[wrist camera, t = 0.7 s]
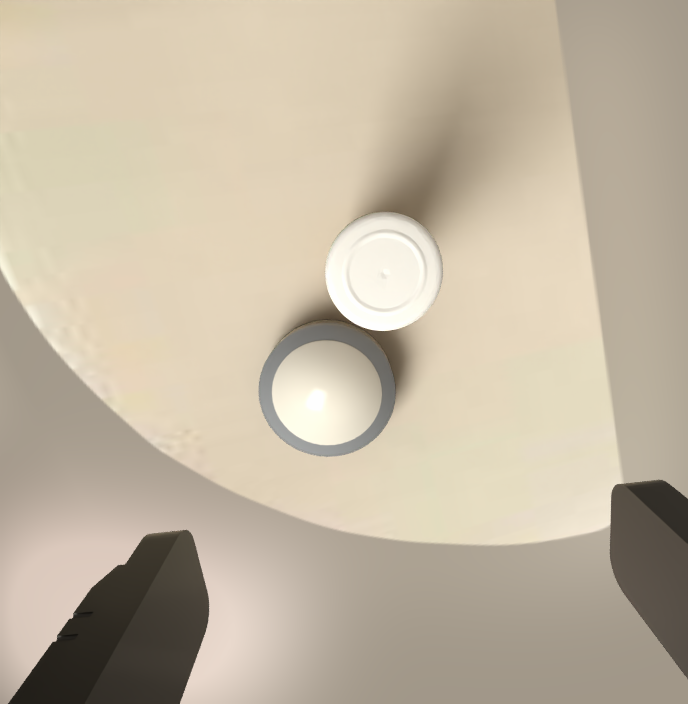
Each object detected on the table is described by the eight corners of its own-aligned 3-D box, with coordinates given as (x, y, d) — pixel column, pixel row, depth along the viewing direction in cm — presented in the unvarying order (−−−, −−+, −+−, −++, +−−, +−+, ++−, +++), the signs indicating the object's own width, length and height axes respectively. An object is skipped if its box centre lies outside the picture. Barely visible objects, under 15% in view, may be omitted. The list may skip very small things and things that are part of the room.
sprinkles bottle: (324, 272, 30) (301, 294, 17) (359, 211, 29) (364, 185, 16) (381, 307, 31) (402, 354, 18) (418, 248, 30) (469, 252, 17)
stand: (255, 328, 31) (246, 336, 29) (384, 311, 31) (387, 317, 28) (277, 447, 33) (271, 464, 31) (398, 433, 33) (402, 449, 30)
